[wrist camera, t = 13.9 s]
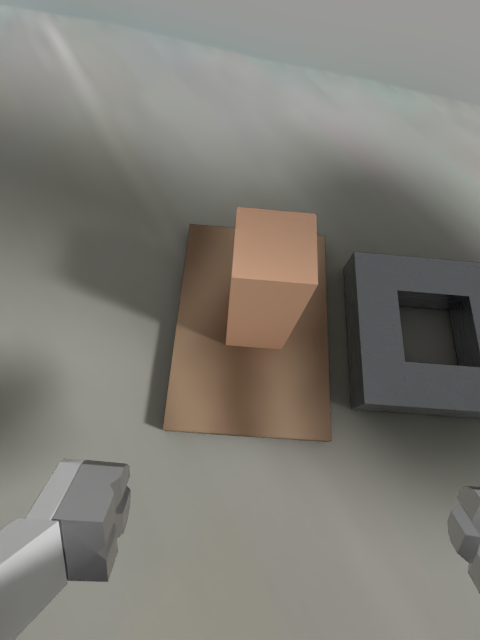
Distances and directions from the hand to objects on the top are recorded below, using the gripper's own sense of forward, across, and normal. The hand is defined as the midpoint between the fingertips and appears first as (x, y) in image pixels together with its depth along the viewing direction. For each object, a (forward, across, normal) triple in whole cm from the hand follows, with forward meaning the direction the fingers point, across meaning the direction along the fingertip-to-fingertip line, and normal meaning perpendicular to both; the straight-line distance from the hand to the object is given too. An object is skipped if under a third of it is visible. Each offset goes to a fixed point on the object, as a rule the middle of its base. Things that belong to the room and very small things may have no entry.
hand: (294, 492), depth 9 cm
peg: (+18, 0, +3) cm, 18 cm away
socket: (+19, -13, +4) cm, 23 cm away
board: (+19, 0, +4) cm, 19 cm away
